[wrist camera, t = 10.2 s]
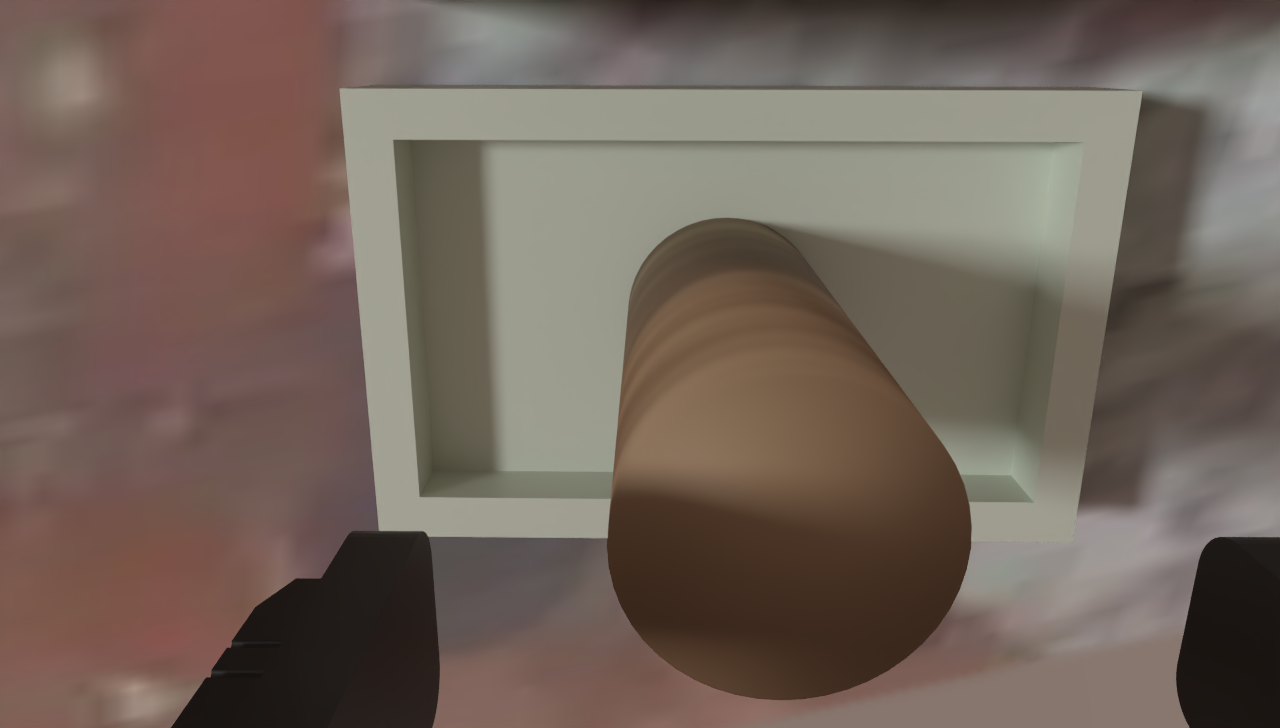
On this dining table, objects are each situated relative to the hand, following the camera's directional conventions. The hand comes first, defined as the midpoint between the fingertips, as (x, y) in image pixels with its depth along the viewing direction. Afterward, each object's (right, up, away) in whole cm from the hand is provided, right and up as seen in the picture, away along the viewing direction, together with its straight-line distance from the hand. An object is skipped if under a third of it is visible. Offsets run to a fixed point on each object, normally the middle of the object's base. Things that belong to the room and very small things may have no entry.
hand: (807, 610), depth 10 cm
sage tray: (0, +4, +13) cm, 14 cm away
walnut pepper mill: (0, +4, +12) cm, 13 cm away
